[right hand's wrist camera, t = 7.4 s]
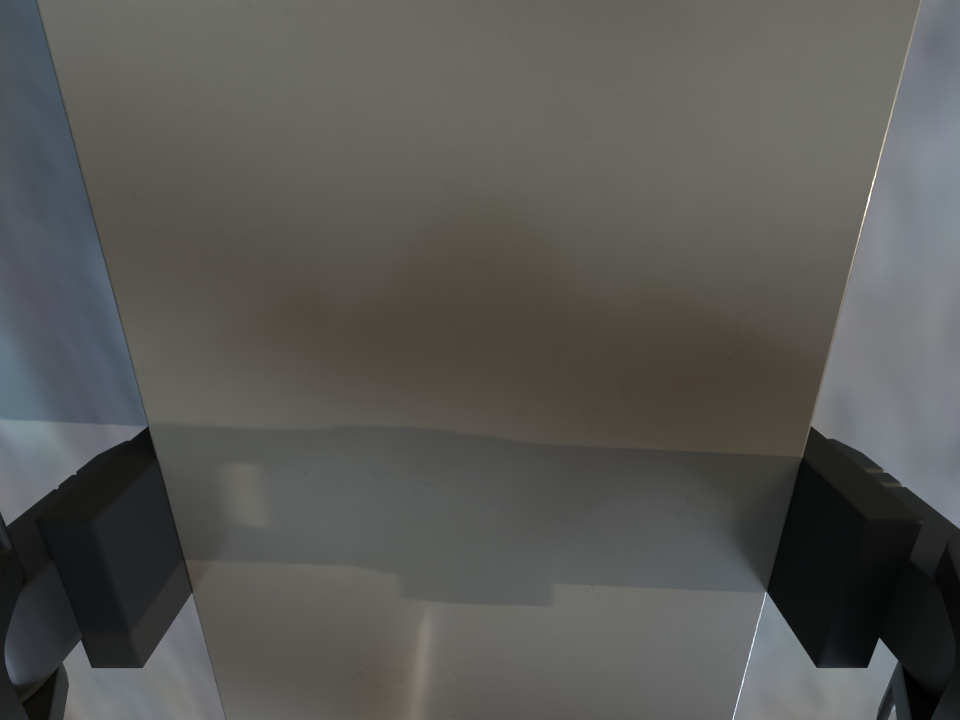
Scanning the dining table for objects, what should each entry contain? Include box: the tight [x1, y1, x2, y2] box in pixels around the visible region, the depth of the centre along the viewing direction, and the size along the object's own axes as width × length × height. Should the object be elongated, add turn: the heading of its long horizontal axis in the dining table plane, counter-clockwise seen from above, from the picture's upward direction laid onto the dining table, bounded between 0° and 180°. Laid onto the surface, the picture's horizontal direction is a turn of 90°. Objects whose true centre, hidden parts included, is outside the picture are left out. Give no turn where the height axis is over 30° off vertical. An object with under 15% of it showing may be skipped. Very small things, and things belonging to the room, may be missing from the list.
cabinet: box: [36, 0, 922, 720], centre depth 12 cm, size 18×10×11 cm, turn 0°
